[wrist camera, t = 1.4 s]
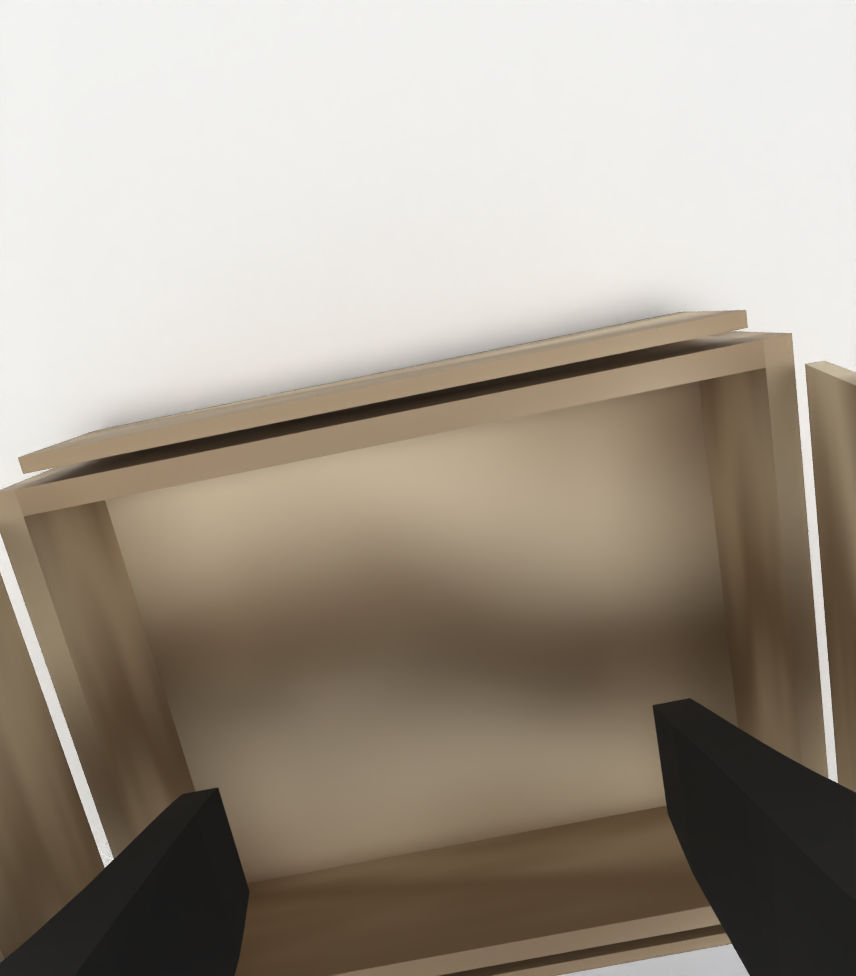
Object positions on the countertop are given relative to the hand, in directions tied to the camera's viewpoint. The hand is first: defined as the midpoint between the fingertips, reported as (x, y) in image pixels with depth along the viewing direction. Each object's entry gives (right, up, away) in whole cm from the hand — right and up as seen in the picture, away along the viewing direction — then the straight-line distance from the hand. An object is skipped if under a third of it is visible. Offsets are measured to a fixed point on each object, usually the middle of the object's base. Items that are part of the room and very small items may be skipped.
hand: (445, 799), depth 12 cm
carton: (0, +1, +6) cm, 6 cm away
